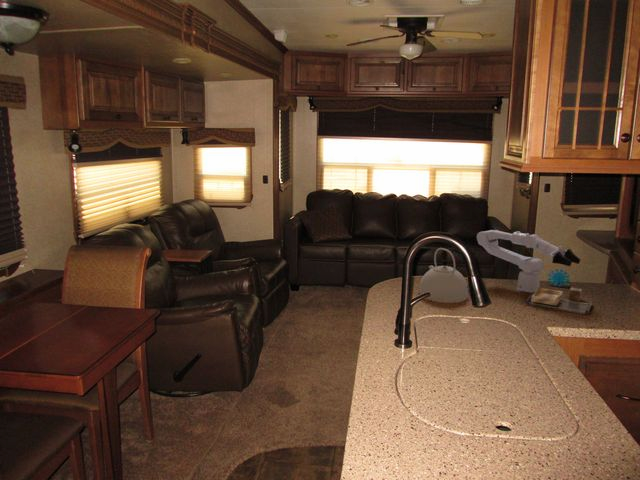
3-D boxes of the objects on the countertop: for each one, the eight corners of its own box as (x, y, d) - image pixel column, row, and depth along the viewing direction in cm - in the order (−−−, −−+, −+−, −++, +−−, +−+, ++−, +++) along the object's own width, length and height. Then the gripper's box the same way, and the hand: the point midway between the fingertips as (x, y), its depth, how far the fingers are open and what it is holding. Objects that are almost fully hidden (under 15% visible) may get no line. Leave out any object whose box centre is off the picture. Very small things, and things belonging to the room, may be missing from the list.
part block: (568, 300, 238) (569, 289, 237) (570, 297, 241) (571, 287, 240) (579, 302, 235) (580, 291, 234) (580, 299, 239) (581, 289, 238)
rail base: (525, 304, 231) (525, 300, 231) (532, 295, 244) (533, 291, 244) (587, 315, 218) (587, 311, 217) (591, 304, 231) (592, 301, 231)
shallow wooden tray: (530, 302, 230) (531, 296, 229) (537, 293, 243) (538, 287, 242) (556, 307, 224) (557, 300, 224) (562, 297, 237) (563, 291, 236)
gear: (544, 281, 261) (552, 265, 264) (545, 287, 265) (552, 271, 268) (567, 288, 254) (574, 272, 258) (567, 294, 259) (574, 278, 262)
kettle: (408, 289, 253) (409, 244, 249) (448, 285, 260) (451, 241, 255) (433, 305, 230) (436, 256, 225) (477, 300, 237) (481, 252, 232)
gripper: (543, 243, 235) (570, 257, 226) (559, 239, 244) (586, 252, 234) (537, 257, 238) (564, 271, 229) (554, 253, 247) (580, 266, 237)
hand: (575, 263), depth 232 cm, fingers open, 7 cm apart
